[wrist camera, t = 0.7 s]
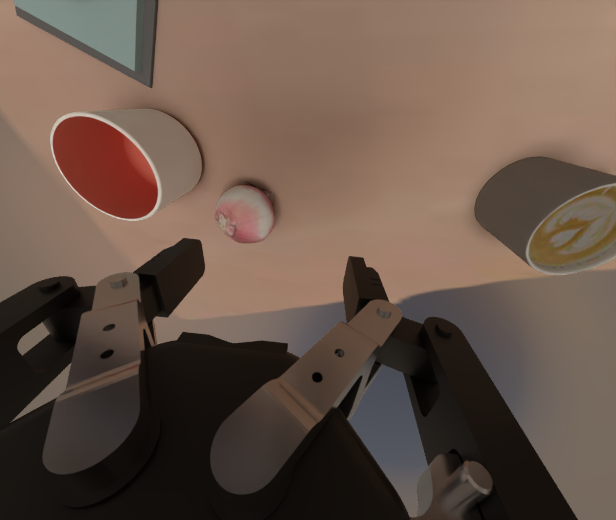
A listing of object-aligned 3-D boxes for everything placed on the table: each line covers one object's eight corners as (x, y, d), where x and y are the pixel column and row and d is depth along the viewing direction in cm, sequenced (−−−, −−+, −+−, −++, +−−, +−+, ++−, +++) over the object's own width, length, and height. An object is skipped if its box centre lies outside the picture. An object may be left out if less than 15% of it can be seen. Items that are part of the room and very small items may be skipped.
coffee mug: (467, 235, 33) (512, 279, 25) (484, 164, 28) (548, 191, 20) (575, 223, 31) (662, 267, 23) (616, 143, 26) (749, 164, 18)
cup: (217, 185, 32) (179, 215, 24) (155, 195, 34) (99, 226, 26) (183, 99, 26) (118, 100, 18) (111, 117, 28) (21, 124, 20)
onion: (222, 201, 34) (191, 203, 28) (263, 173, 32) (241, 168, 25) (250, 247, 36) (227, 260, 29) (292, 223, 34) (278, 231, 27)
